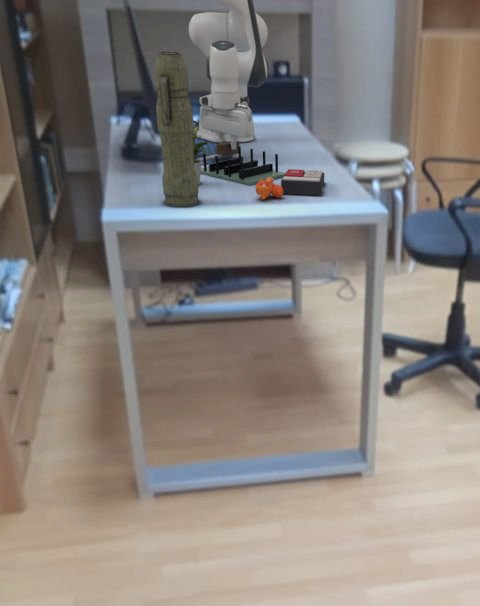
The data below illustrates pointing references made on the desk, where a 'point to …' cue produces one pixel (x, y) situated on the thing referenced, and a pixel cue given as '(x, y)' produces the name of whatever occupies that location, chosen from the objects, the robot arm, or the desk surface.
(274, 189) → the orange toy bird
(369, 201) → the desk surface
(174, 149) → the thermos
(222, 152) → the knife
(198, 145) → the house plant
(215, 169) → the rack
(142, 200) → the desk surface
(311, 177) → the calculator
